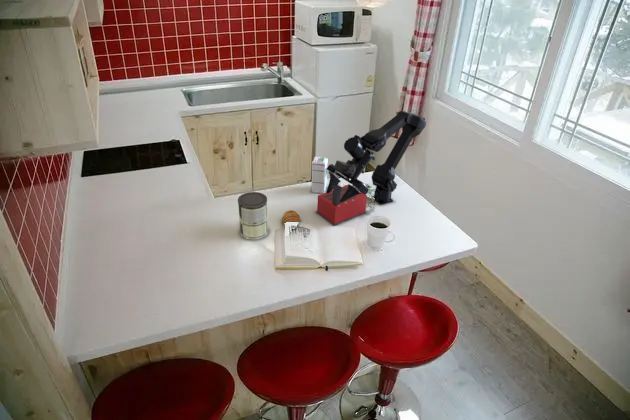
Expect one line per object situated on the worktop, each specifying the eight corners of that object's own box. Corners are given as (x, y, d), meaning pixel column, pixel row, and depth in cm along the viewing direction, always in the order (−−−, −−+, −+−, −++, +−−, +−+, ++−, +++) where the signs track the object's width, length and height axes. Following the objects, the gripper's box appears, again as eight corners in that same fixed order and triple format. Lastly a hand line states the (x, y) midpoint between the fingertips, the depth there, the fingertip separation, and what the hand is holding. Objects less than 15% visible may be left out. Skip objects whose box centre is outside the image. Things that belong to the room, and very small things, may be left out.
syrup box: (324, 193, 187) (325, 163, 180) (310, 192, 188) (311, 161, 180) (326, 187, 192) (328, 157, 184) (313, 185, 193) (314, 155, 185)
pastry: (301, 230, 163) (301, 222, 161) (283, 231, 163) (283, 223, 161) (299, 217, 171) (299, 208, 169) (281, 218, 171) (281, 209, 168)
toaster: (347, 200, 183) (349, 183, 179) (366, 213, 176) (368, 195, 171) (316, 212, 175) (317, 195, 170) (334, 225, 167) (335, 207, 163)
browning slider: (336, 200, 167) (337, 184, 163) (340, 203, 165) (342, 187, 161) (331, 202, 166) (332, 186, 162) (335, 205, 164) (336, 189, 160)
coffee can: (234, 231, 162) (231, 198, 154) (256, 220, 168) (255, 188, 161) (251, 243, 156) (249, 210, 148) (273, 232, 162) (273, 199, 155)
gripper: (331, 144, 163) (306, 177, 163) (365, 162, 151) (338, 199, 151) (346, 158, 171) (322, 190, 172) (379, 177, 159) (354, 211, 159)
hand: (333, 197), depth 163 cm, fingers open, 8 cm apart
